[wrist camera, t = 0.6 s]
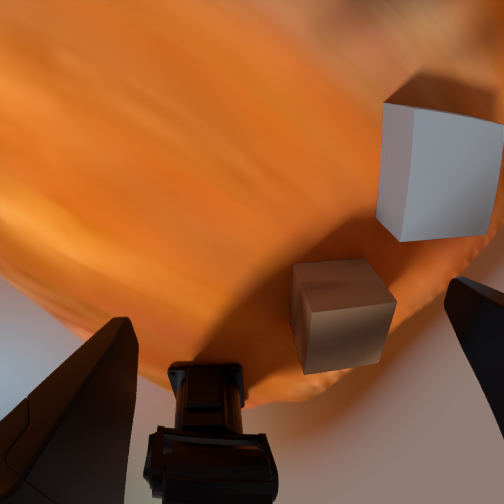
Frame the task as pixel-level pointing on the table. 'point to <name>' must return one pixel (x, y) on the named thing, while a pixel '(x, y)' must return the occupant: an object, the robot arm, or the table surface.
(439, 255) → the table surface
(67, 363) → the robot arm
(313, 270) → the walnut cube
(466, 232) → the plinth block
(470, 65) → the table surface
